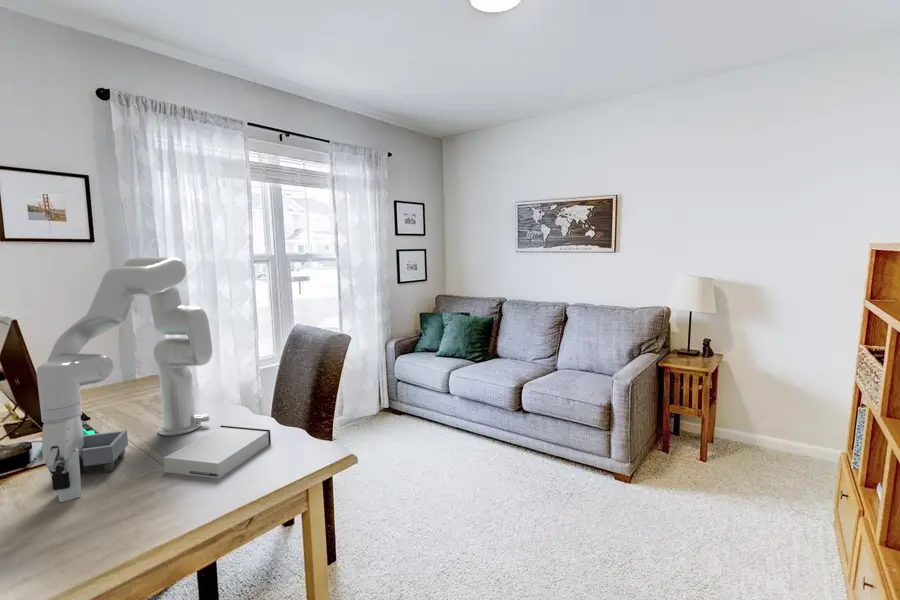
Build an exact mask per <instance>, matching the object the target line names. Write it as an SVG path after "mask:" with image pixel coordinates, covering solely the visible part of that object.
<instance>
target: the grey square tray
mask: <svg viewBox="0 0 900 600" xmlns="http://www.w3.org/2000/svg"><path fill="white" fill-rule="evenodd" d="M128 446H129V439H128V430H127V429H124V430H116V431H108V432H99V433H95V434H90V435H84V445H83V448H82V452H83V457H80V458H83V464H84V467H88V466H95V465H102V464H103V465H104V471H105V473H110V472H113V471H114V467H115V460H117V459H120V458H122V459H123V458H124V457H125V454H126V448H127V447H128Z"/></svg>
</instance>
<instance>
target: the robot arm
mask: <svg viewBox="0 0 900 600" xmlns="http://www.w3.org/2000/svg"><path fill="white" fill-rule="evenodd" d="M186 273H187V267H186V265H185V263H184V262H183V260H182V259H180V258H177V257H175V256H139V257H138V256H137V257H132V258H129V259H127V260H126V261H125V262H124V265H123V266H116V267H111V268H109V269H108V270H107V271H106V272H105V273H104V275H103V276H102V279H101V281H100V283H99V286H98V288H97V291H96V292H95V294H94V298H93V300H92V301H91V304H90V306H89V309H88V311H87V313H86V314H85V315H83V316H82V317H81V318H80V319H78V320H77V321H76V322H75V323H72V325H71V326H70V327H68V328H67V329H66V330H65V331H64V332H63V333H62V334H61V335H60V336H59V337H58V339H57V340H56V341H55V343H54V345H53V347H52V350H51V351H50V354H49V357H47V362H45V363H42V364H41V365H38V367H37V368H36V380H37V381H36V382H37V387H38V388H37V389H38V390H37V391H38V398H39V406H40V407H39V409H40V415H41V416H40V417H41V422H42V423H43V424H42V431H41V432H42V433H41V436H42V437H41V443H42V444H41V447H42V450H43V452H42V460H43V461H42V463H44V464H45V465H46V468H47V469H48V471H49V473H50V476H51V483H52V490H53V491H58V490H61V489H68V488H69V487H70V478H69V471H68V472H67V464H68V460H69V459H71V458H72V452H73V451H74V450H75V449H76V448H78V451H79V464H80V475H82V474H83V473H84V472H85V466H84V464H83V458H80V457H83V452H82V448H83V445H84V435H83V428H84V427H83V422H82V418H81V416H82V415H83V409H82V408H83V406H82V396H81V387H83V386H88V385H93V384H94V385H95V384H99V383H101V382H103V381H106V380H107V379H109V377H110V376H111V375H112V374H113V372H114V369H115V368H114V367H115V363H114V362H113V360H112V359H111V358H110V357H109V356H107V355H105V354H100V353H80V352H81V351H82V350H83V349H84V347H85V346H86V345H87V344H88V343H90V342H91V341H92V340H93V339H95V338H96V337H99V336H101V335H103V334H105V333H108V332H110V331H113V330H115V329H117V328H119V327H121V326H122V325H123V324H124V323H125V322H126V319H127V316H128V315H129V311H130V308H131V306H132V303H133V300H134V299H135V297H148V299H149V304H150V308H151V315H152V319H153V325H154V328H155V331H156V332H158V334H161V335H168V336H170V335H172V337H171V336H170V337H165V338H162V339H160V340H159V341H158V342H157V343H156V344H155V345H154V348H153V358H154V361H155V364H156V366H157V371H158V378H159V387H160V388H159V391H160V399H161V401H160V403H161V413H162V425H160V426H159V427H158V429H157V430H158V431H157V432H158V434H159V435H161V436H170V437H171V436H179V435H185V434H187V433H191V432H193V431H195V430H198V429H199V428H200V427H201V425H202V422H203V423H204V422H210V420H211V418H210V415H208V414H206V413H205V414H201V415H200V414H198V410H197V411H196V406H195V405H196V403H195V394H194V393H195V391H194V377H193V373H192V372H191V369H190V368H189V367H199V366H200V367H201V366H204V365H205V366H206V365H207V364H209V362H210V361H211V360H212V357H213V341H212V336H211V329H210V322H209V317H208V315H207V313H206V311H205V309H203V308H202V307H200V306H196V305H183V304H182V301H181V296H180V295H181V294H180V291H179V288H178V285H179V284H181V283H182V281H184V279H185V277H186ZM173 335H174V336H175V337H174V336H173ZM177 335H178V336H179V337H178V336H177ZM183 335H184V336H185V337H184V336H183ZM176 336H177V337H176ZM182 336H183V337H182ZM82 427H83V428H82ZM59 455H60V457H64V459H63V460H58V461H57V459H58V456H59ZM57 463H63V465H62V467H61V466H58V465H57Z"/></svg>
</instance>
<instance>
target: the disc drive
mask: <svg viewBox="0 0 900 600" xmlns="http://www.w3.org/2000/svg"><path fill="white" fill-rule="evenodd" d="M271 438H272V437H271V429H265V428H264V429H262V428H253V427H242V426H232V425H231V426H229V425H220V427H218V428H216V429H214V430H213V431H211V432H209V433H206V434H205V435H204V436H202V437H200V438H198V439H196V440H194V441H192V442H190V443H188V444H186V445H185V446H183V447H181V448H180V449H177V450H175V451H174V452H172V453H170V454H169V455H166V456H164V457H163V459H164V462H163V463H164V472H165V473H170V474H176V475H185V476H193V477H203V478H209V479H221V478H222V477H223V476H225V475H227V474H228V473H229V472H231V471H233V469H235V468H237V467H238V466H240V465H241V464H243V463H245V462H246V461H247V460H248V459H250V458H251V457H253V456H255V455H256V454H257V453H258V452H260V451H262V450H263V449H265V448H266V447H268V446H269V445H271V444H272V441H271Z"/></svg>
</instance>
